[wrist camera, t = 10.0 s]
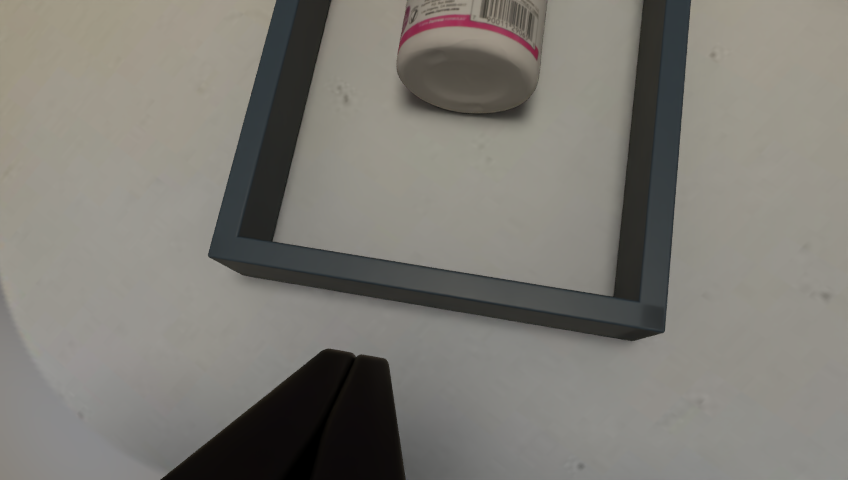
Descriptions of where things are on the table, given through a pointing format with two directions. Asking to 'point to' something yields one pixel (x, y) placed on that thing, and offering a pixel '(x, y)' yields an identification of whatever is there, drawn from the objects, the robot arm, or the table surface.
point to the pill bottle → (472, 52)
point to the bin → (536, 304)
